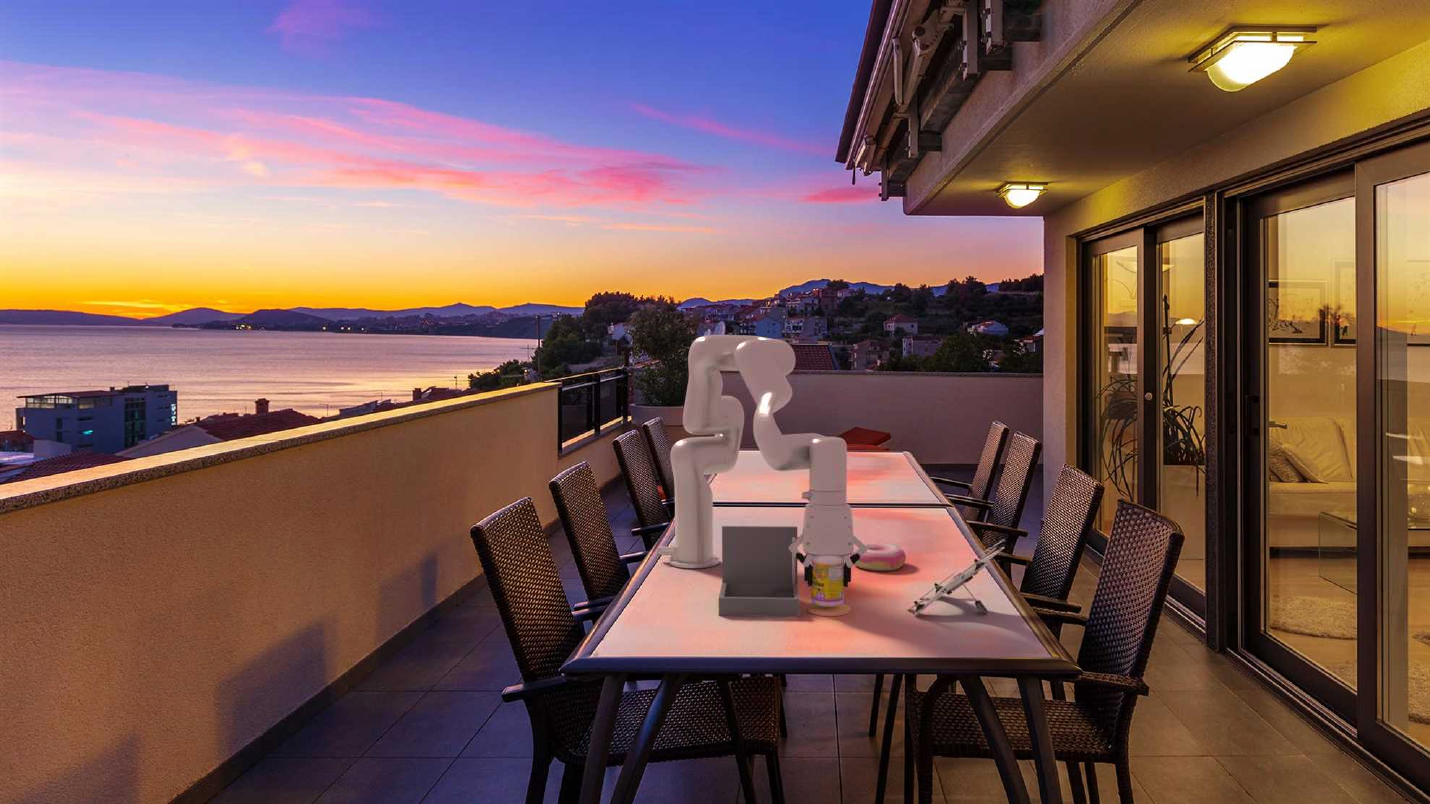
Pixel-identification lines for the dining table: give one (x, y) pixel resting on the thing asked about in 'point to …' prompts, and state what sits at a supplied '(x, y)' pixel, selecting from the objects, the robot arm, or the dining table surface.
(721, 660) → the dining table surface
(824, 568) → the supplement bottle
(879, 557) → the donut
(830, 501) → the robot arm
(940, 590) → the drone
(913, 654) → the dining table surface
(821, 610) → the pad
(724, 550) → the case
